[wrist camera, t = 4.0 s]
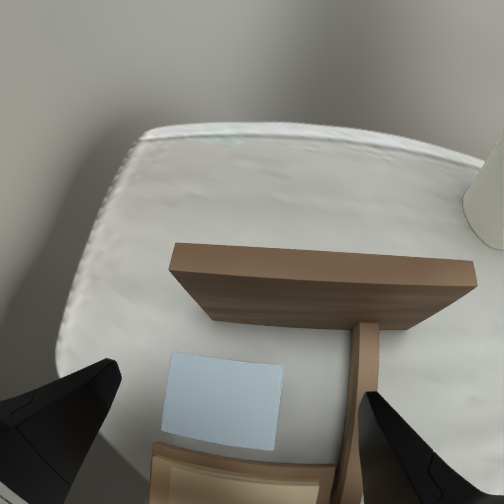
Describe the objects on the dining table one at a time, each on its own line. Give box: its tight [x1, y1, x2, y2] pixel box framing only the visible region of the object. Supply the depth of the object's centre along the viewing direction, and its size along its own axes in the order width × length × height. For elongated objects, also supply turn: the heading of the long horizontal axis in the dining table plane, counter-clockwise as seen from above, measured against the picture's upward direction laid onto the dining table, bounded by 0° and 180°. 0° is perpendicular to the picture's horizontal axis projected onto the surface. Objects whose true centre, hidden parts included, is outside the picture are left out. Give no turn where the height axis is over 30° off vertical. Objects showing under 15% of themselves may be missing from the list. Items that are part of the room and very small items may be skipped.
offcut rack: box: [149, 243, 478, 504], centre depth 10 cm, size 17×16×8 cm
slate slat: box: [161, 351, 284, 451], centre depth 11 cm, size 2×3×10 cm
